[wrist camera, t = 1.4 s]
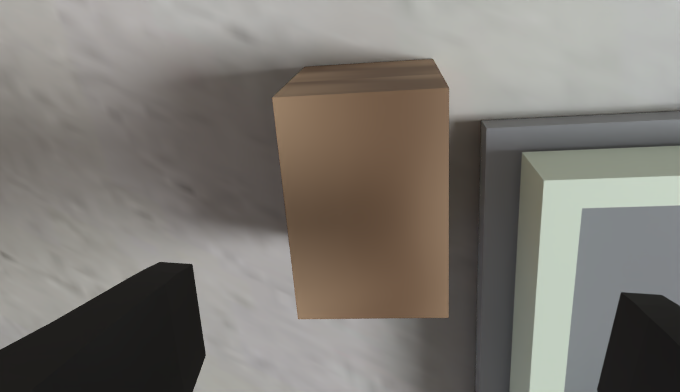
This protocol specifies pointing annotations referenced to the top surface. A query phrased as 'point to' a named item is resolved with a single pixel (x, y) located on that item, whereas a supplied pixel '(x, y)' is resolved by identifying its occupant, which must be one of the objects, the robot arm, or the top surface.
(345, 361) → the top surface
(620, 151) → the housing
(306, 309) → the jaw block
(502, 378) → the housing base
